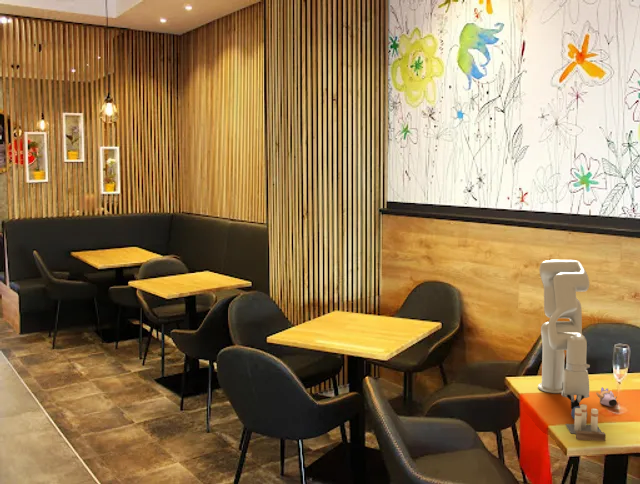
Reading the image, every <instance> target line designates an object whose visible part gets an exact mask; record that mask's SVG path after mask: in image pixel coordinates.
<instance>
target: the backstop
mask: <svg viewBox="0 0 640 484" xmlns="http://www.w3.org/2000/svg"><path fill="white" fill-rule="evenodd" d="M606 434H607V433H605V432H604V431H602V432H587V431H576V434H575V438H576V440H578V441H579V440H580V441H600V442H603V441H604V442H605V441H606V437H607V436H606Z"/></svg>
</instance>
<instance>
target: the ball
mask: <svg viewBox="0 0 640 484" xmlns="http://www.w3.org/2000/svg"><path fill="white" fill-rule="evenodd" d="M575 408H580V405H579V406H576V407H574V408H573V409H571V412H570V415H571V418H572V419H573V420H574V421H575ZM587 417H588V416H587ZM587 417H586V419H587Z"/></svg>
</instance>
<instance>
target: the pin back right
mask: <svg viewBox="0 0 640 484" xmlns="http://www.w3.org/2000/svg"><path fill="white" fill-rule="evenodd" d="M581 416H582V409H580V408H575V420H574V423H573V424H574V431H575V432H576V431H581Z"/></svg>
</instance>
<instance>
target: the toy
mask: <svg viewBox="0 0 640 484" xmlns="http://www.w3.org/2000/svg"><path fill="white" fill-rule="evenodd" d="M595 395H596V396H597V397H598V398H599V404H601V405H602V406H603V405H604V406H606V407H614V406H616V405H617V404H618V401H617V398H618V396H615V394H614V393H613V391H612V390H609V388H607V387H606V388H605V389H604V387H601V388H600V393H599V392H596V394H595Z"/></svg>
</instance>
